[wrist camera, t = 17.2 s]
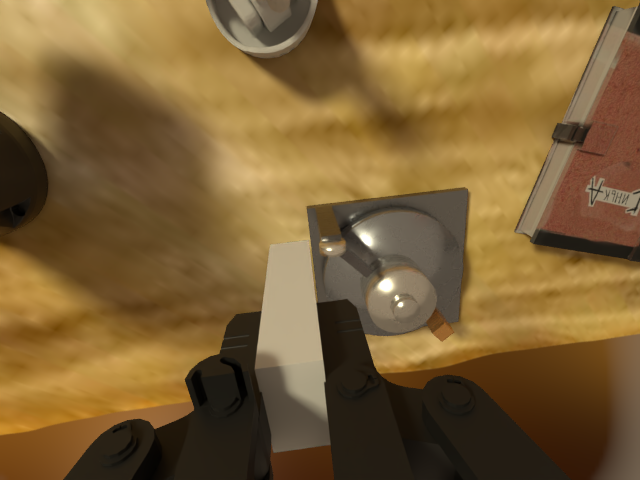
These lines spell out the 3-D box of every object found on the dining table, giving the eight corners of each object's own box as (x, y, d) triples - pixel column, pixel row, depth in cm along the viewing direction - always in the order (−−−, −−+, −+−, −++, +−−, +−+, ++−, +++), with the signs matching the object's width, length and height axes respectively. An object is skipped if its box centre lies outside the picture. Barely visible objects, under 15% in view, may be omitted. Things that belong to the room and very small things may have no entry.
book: (603, 6, 38) (645, -5, 33) (734, 42, 40) (790, 37, 36) (507, 229, 48) (530, 244, 43) (617, 247, 50) (650, 263, 46)
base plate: (322, 335, 52) (322, 339, 51) (306, 206, 44) (306, 208, 43) (455, 317, 53) (458, 321, 52) (464, 187, 44) (468, 189, 44)
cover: (396, 317, 48) (412, 350, 42) (347, 292, 45) (357, 324, 39) (433, 272, 45) (456, 300, 39) (385, 243, 43) (401, 269, 37)
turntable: (294, 275, 46) (295, 300, 41) (398, 177, 42) (415, 190, 36) (383, 347, 52) (394, 378, 47) (482, 268, 48) (507, 291, 42)
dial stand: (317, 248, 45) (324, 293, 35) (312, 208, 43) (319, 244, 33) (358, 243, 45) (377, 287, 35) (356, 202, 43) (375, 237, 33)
